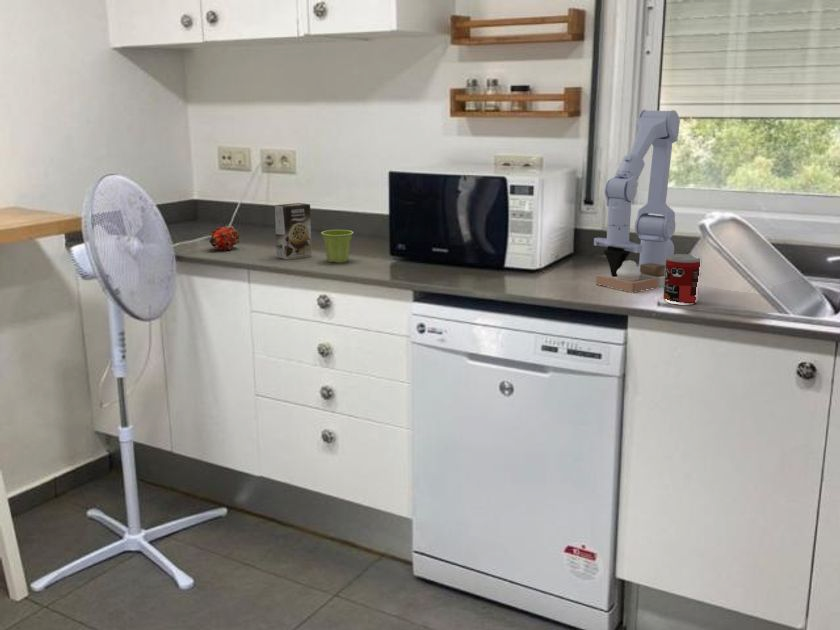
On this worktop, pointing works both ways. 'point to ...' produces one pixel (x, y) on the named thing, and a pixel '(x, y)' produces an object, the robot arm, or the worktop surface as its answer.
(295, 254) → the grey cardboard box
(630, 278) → the muffin
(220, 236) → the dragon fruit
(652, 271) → the walnut block
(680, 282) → the canned food
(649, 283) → the tray
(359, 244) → the worktop surface
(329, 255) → the plant pot
